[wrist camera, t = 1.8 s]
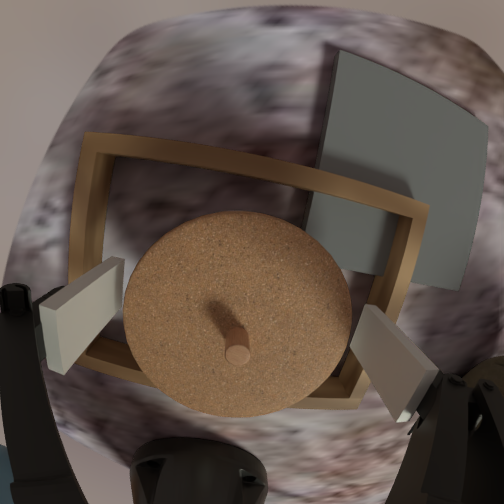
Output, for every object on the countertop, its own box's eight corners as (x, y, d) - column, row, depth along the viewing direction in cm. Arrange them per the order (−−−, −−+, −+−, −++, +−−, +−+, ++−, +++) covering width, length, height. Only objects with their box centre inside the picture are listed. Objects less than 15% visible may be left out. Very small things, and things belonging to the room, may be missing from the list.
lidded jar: (263, 367, 22) (277, 460, 13) (138, 305, 20) (84, 379, 11) (341, 252, 20) (411, 300, 11) (206, 172, 18) (177, 159, 9)
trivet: (450, 287, 21) (458, 291, 20) (294, 255, 20) (298, 260, 19) (479, 127, 18) (488, 126, 17) (334, 56, 17) (340, 49, 16)
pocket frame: (345, 388, 23) (356, 409, 20) (88, 344, 21) (73, 363, 18) (407, 201, 19) (430, 205, 16) (104, 138, 17) (84, 131, 14)
